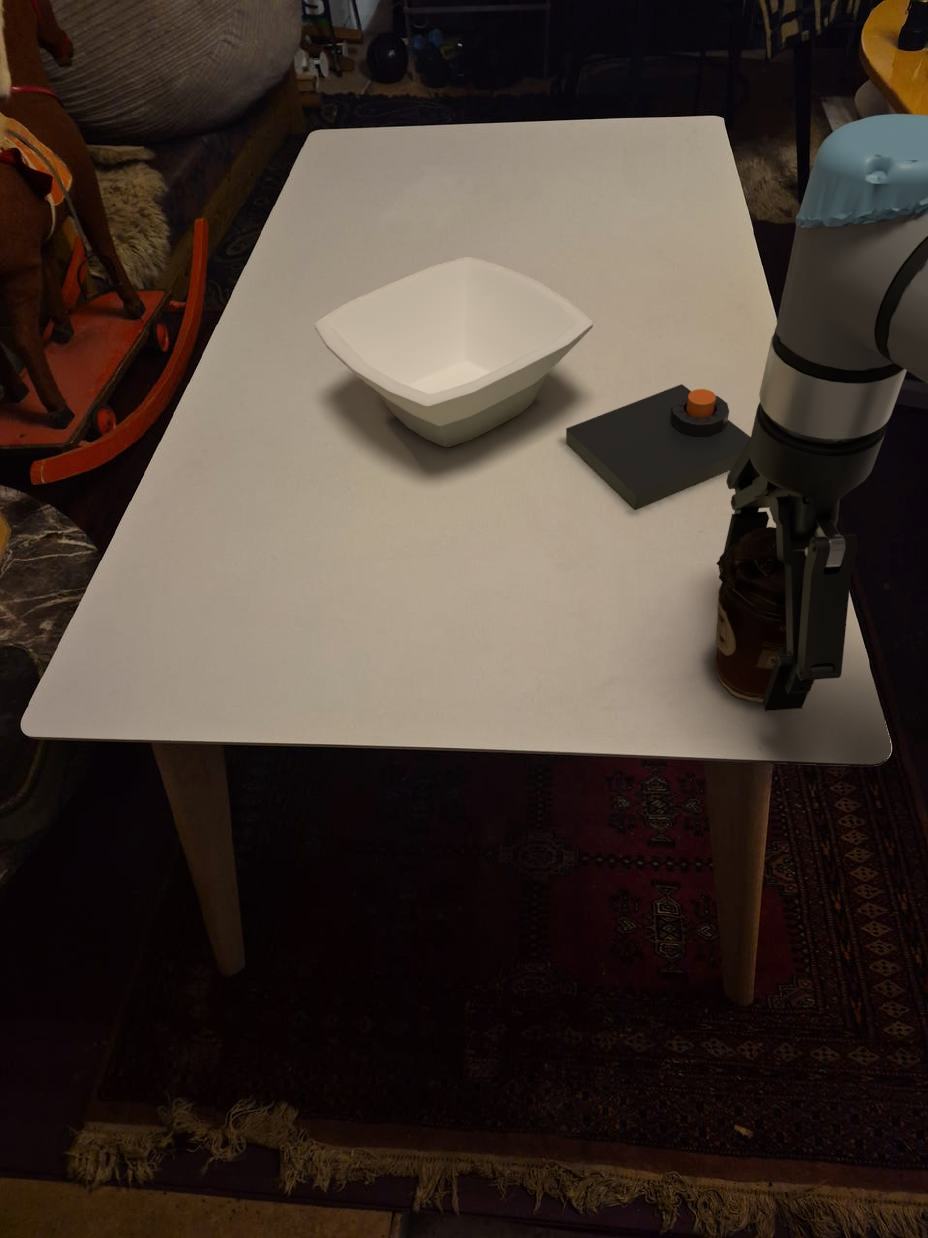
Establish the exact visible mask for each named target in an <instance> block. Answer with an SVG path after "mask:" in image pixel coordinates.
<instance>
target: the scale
mask: <svg viewBox="0 0 928 1238" xmlns="http://www.w3.org/2000/svg"><path fill="white" fill-rule="evenodd" d="M691 391H692V390H691V389H689V388H688V387H686V386H685V385H684V384H679V385H676V386H673V387H671V388H668V389H665V390H663V391H660V392H657V393H655V394H652V395H650V396H647V397H645V398H642V399H639V400H635V401H634V402H631V403H629V404H626V405H624V406H621V407H619V408H615V409H613V410H611V411H607V412H606V413H603V414H600V415H597V416H595V417H592V418H590V419H587V420H585V421H582V422H579V423H576V424H574V425H571V426H569V427H566V428H565V436H566V437H565V443H566V444H567V445H568V447H570V448H571V449H572V450H573V451H574V452H575V453H576V454H577V455H578V456H579V457H580V458H581V459H582V460H583V461H584V462H586V464H587V465H588V466H590V468H592V469H593V470H594V471H595V473H597V474H598V476H600V477H601V478H602V479H603V480H604V481H605V482H606V483H607V484H608V485H609V486H610V487H611V488H612V489H613V490H614V491H615V492H616V493H617V494H618V495H619V496H620V497H621V498H622V499H623V500H624V501H625V502H626V503H627V504H628V505H629V506H630V507H632V508H633V509H634V510H637V509H641V508H642V507H645V506H647V505H650V504H651V503H652V504H653V503H655V502H657V501H659V500H661V499H664V498H666V497H668V496H671V495H673V494H677V493H678V492H680V491H684V490H686V489H689V488H690V487H693V486H695V485H697V484H699V483H702V482H704V481H706V480H709V479H711V478H714V477H716V476H719V475H721V474H723V473H725V472H728V471H731V469H732V467H733V466H734V464H735V462H736V461H737V459H738V457H739V456H740V454H741V452H742V451H743V449H744V447H745V446H746V444H747V442H748V441H749V439H750V438H751V435H749V434H747V432H745V431H744V430H742V429H741V428H740V427H738V426H737V425H736V424H734V423H733V422H732V421H731V420H730V419H729V416H730V409H729V404H728V402H726V401H725V400H724V399H722V397H720V396H719V395H717V394H715V396H716V401H715V407H714V412H713V414H712V415H711V416H709V417H704V418H697V417H693V416H690V415H689V414H688V413H687V411H686V408H687V400H688V395H689V393H690V392H691Z"/></svg>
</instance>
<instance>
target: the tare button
mask: <svg viewBox="0 0 928 1238" xmlns="http://www.w3.org/2000/svg"><path fill="white" fill-rule="evenodd" d="M690 391H691V392H690V393H689V395H688V400H687V408H686V411H687V413H688V414H689V415H690V416H693V417H697V418H704V417H709V416H711V415H712V414H713V412H714V407H715V401H716V396H717V395H716V394H715V393H714V392H713V391H712V390H709V389H705V388H698V389H694V390H690ZM715 395H716V396H715Z"/></svg>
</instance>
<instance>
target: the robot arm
mask: <svg viewBox="0 0 928 1238" xmlns="http://www.w3.org/2000/svg"><path fill="white" fill-rule="evenodd" d="M794 221H795V223H794V224H795V231H794V235H793V236H794V237H793V242H792V247H791V253H790V259H789V264H788V269H787V273H786V277H785V283H784V287H783V291H782V296H781V301H780V306H779V311H778V316H777V320H776V325H775V327H774V332H773V335H772V337H771V339H770V344H769V348H768V352H767V357H766V361H765V367H764V371H763V374H762V379H761V384H760V387H759V392H758V394H759V395H758V396H759V403H758V405H757V408H756V412H755V416H754V422H753V425H752V430H751V435H750V437H751V438H750V439H749V441H748V442H747V444H746V446H745V447H744V449H743V451H742V452H741V454H740V456H739V457H738V459H737V461H736V462H735V464H734V466H733V467H732V469H731V470H729V472H728V474H727V478H726V485H727V488H728V490H734V494H733V495H731V500H730V506H731V509H732V511H734V513H731V516H730V521H729V526H728V531H727V535H726V540H725V544H724V548H723V553H724V552H725V551H726V550H727V549H728V548H730V547H731V546H732V545H733V544H734V543H736V542H738V541H739V540H740V538H743V537H744V535H746V534H747V533H751V532H752V530H754V529H758V528H764V527H765V528H767V527H768V524H769V520H770V517H769V513H768V511H765V510H764V511H759V510H760V509H769V512H770V514H771V518H772V521H773V522H774V524H775V528H776V538H777V558H778V559H779V561H781V562H783V563H784V565H785V598H786V641H787V647H780V649H779V652H778V655H776V662H775V665H774V668H773V671H772V674H771V677H770V680H769V683H768V686H767V689H766V692H765V695H764V699H763V702H761V703H762V704H761V705H762V707H763V710H764V712H774V711H775V712H776V711H786V710H789V711H790V710H801V709H803V707H804V705H805V702H806V700H807V697H808V694H809V692H811V689H812V687H813V685H814V682H815V681H817V680H828V679H829V680H831V679H840V678H841V676H842V671H843V662H844V661H843V660H844V659H843V658H844V650H845V640H846V629H847V620H848V619H847V618H848V611H849V610H848V609H849V600H850V599H849V598H850V588H851V580H852V579H851V577H852V571H853V567H854V564H855V560H856V557H857V553H858V550H859V540H858V537H857V535H856V534H854V533H850V534H841V533H840V531H839V530H838V528H837V523H838V519H839V517H840V512H841V511H840V502H841V499H842V498H843V497H844V496H845V495H847V494H848V493H850V492H851V491H852V490H854V489H855V488H857V487H858V486H859V485H861V484H862V483H864V481H866V480H867V478H868V477H869V476H870V474H871V473H872V471H873V468H874V466H875V464H876V460H877V458H878V455H879V452H880V449H881V446H882V443H883V441H884V438H885V436H886V432H887V429H888V421H889V420H890V418H891V416H892V414H893V410H894V408H895V404H896V402H897V400H898V396H899V394H900V391H901V387H902V385H903V382H904V379H905V377H906V374H907V372H908V373H910V374H911V375H912V376H914V377H916V378H917V379H919V380H920V381H922V382H924V383H925V384H927V385H928V115H924V114H913V113H911V114H910V113H907V114H906V113H891V114H890V113H889V114H879V115H873V116H867V117H865V118H862V119H857V120H855V121H852V122H851V121H850V122H848V123H846V124H844V125H842V126H840V127H838V128H837V129H835V130H834V131H832V133H830V134H829V135H828V136H827V137H826V138H825V139H824V140H823V142H822V143H821V144H820V146H819V148H818V150H817V153H816V154H815V158H814V162H813V165H812V168H811V171H810V175H809V178H808V181H807V185H806V189H805V192H804V195H803V199H802V202H801V204H800V208H799V212H798V213H797V214H796V216H795V220H794ZM805 541H810V545H809V547H806V548H805V549H801V550H791V542H805Z"/></svg>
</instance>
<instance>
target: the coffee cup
mask: <svg viewBox="0 0 928 1238" xmlns="http://www.w3.org/2000/svg"><path fill="white" fill-rule="evenodd" d="M809 545H810V541H805V542H791V550H801V549H805V548H806V547H809ZM716 566H718V572H719V575H718V579H719V580H720V581H721V584H720V585H719V589H718V598H717V616H716V617H717V618H716V626H715V627H716V629H715V644H716V651H715V658H714V666H715V667H714V668H715V671H716V675H717V677H718V678H719V681H720V683H721V685H722V686H723V687H724V688H725V689H727V690H728V691H729V692H730V693H731V694H732V695H733V696H735V697H736V698H741V699H745V700H748V701H749V702H759V703H762V702H763V699H764V695H765V692H766V689H767V686H768V683H769V680H770V677H771V674H772V671H773V668H774V665H775V662H776V655H778V652H779V649H780V647H787V641H786V598H785V565H784V563H783V562H781V561H779V559H778V558H777V538H776V527H773V526H767V528H765V527H764V528H758V529H754V530H752V532H751V533H747V534H746V535H744V537H743V538H740V540H739V541H738V542H736V543H734V544H733V545H732V546H731V547H730V548H728V549H727V550H726V551H725V552H724V551H723V552H722V554H721V555H720V556H719V560H718V561H717V562H716Z"/></svg>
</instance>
